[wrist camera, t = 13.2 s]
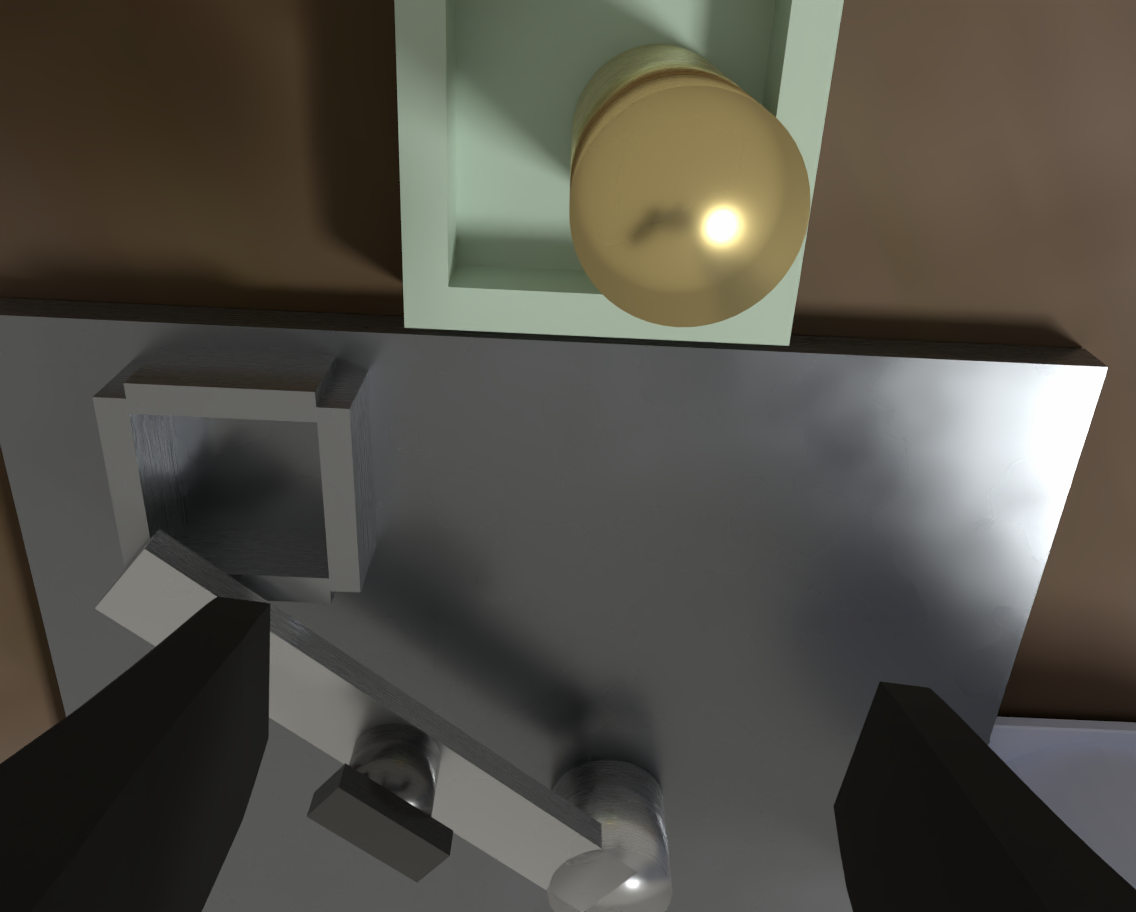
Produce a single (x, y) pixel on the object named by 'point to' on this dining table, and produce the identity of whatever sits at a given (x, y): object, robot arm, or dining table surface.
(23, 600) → the dining table surface
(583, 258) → the olive brown rounded cylinder
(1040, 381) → the crank plate
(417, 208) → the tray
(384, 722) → the crank
